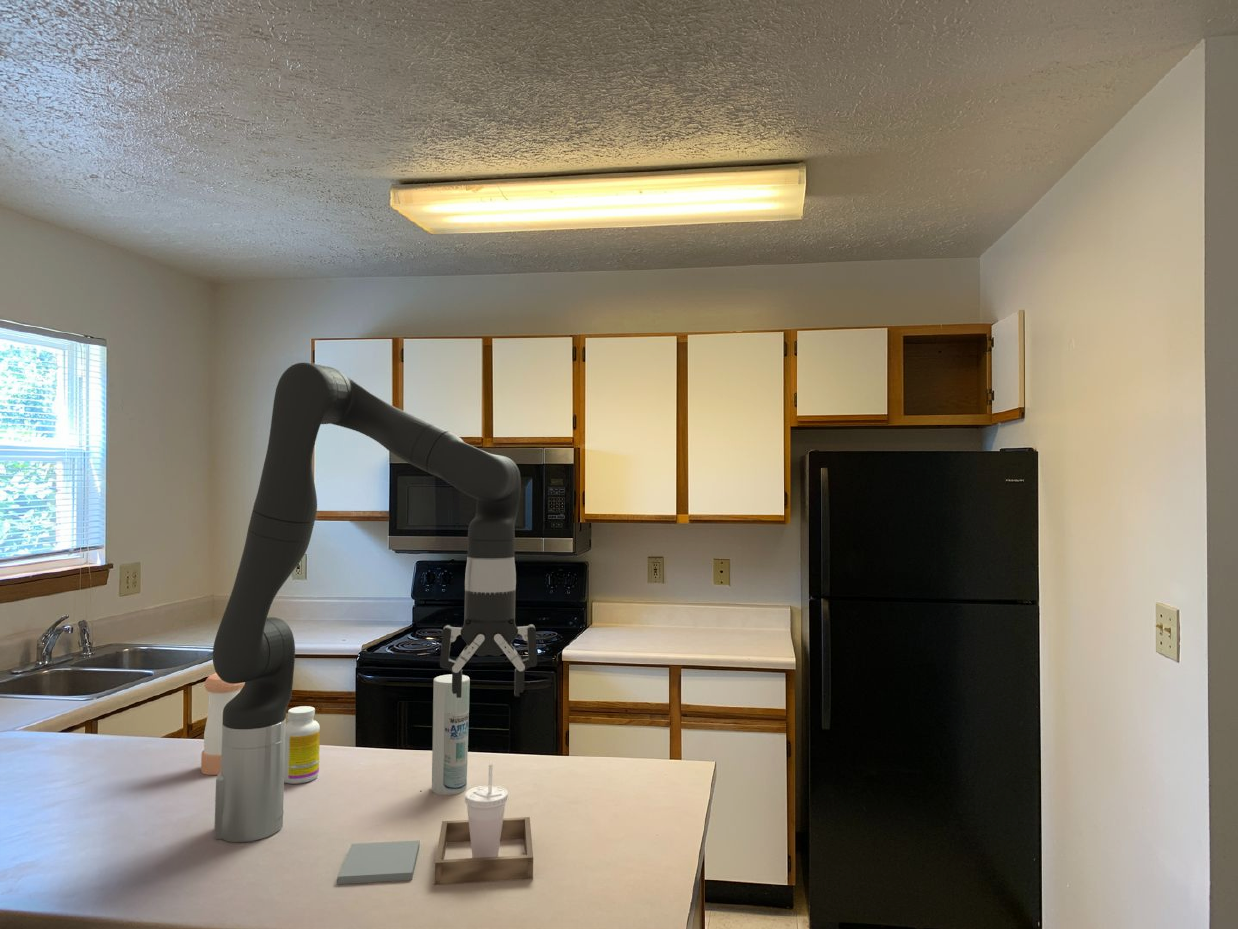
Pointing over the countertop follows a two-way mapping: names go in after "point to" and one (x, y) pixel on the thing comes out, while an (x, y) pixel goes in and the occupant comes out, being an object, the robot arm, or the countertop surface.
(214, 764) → the salt shaker
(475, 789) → the smoothie
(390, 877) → the mat
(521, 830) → the frame
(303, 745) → the supplement bottle
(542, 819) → the countertop surface
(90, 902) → the countertop surface
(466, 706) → the spray can
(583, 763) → the countertop surface
